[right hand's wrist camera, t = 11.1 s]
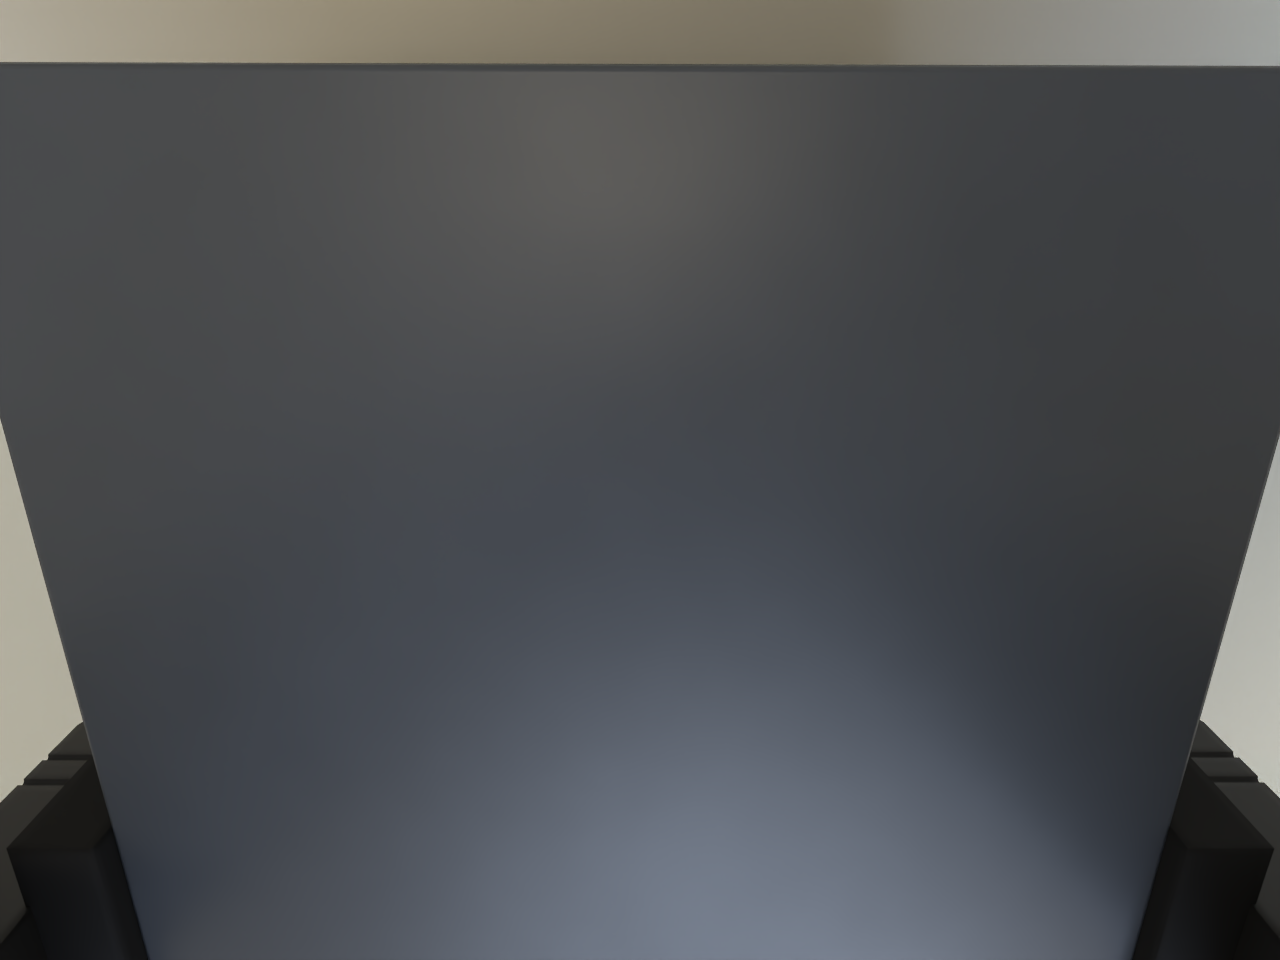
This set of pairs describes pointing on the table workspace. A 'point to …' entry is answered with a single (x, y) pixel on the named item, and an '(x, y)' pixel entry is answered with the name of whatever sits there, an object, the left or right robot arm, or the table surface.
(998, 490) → the wide beam
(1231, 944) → the right robot arm
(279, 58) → the table surface
